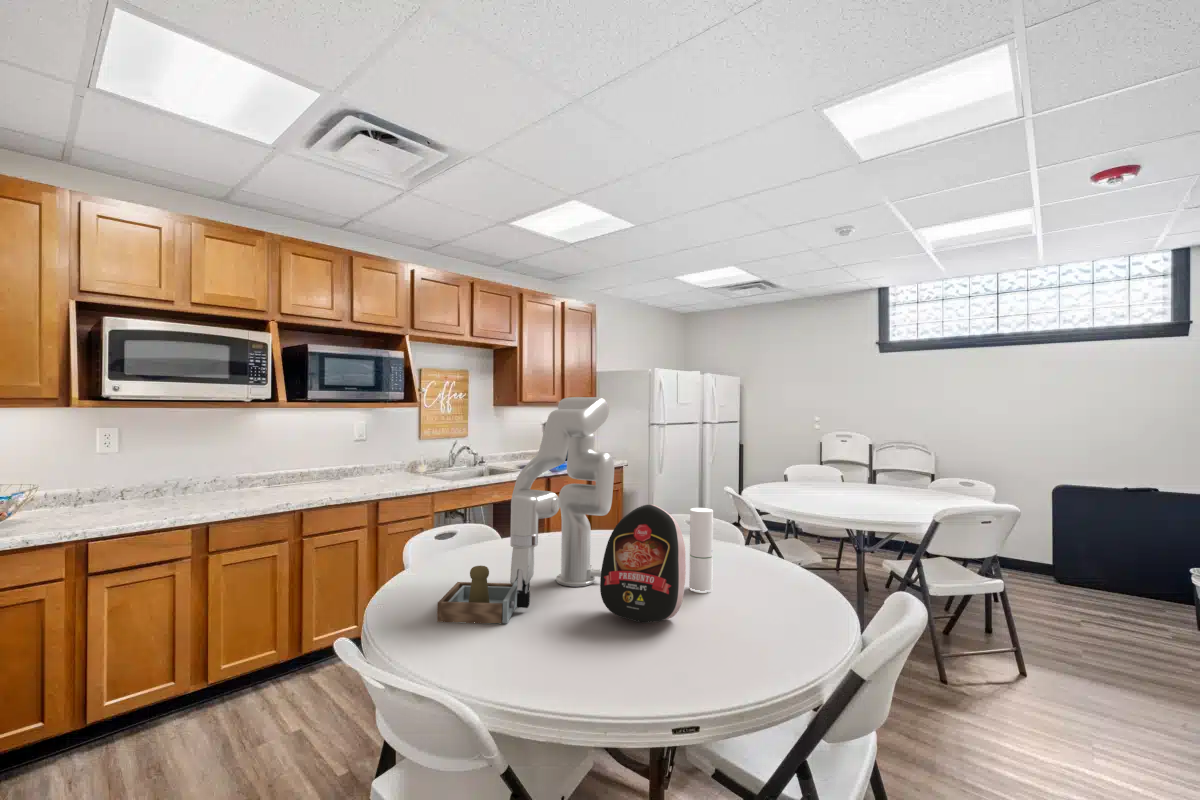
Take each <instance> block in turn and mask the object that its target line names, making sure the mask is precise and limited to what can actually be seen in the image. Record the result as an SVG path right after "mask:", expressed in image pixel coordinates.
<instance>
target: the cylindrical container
mask: <svg viewBox="0 0 1200 800" xmlns="http://www.w3.org/2000/svg"><path fill="white" fill-rule="evenodd" d="M713 555H714V510H713V509H711V508H707V507H706V508H705V507H693V508H692V507H691V508H690V509H689V574H688V575H689V577H688V578H689V587H690V588H692V589H695V590H700V591H705V590H710V589H712V590H713V586H714V585H713V580H714V579H713V571H714V570H713V569H714V567H713V566H714V565H713V564H714V561H713V559H714V556H713ZM689 587H688V588H689Z"/></svg>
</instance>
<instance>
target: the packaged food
mask: <svg viewBox="0 0 1200 800" xmlns="http://www.w3.org/2000/svg"><path fill="white" fill-rule="evenodd" d="M686 566H687V565H686V543H685V540H684V536H683V532H682V530H681V528H680V525H679V523H678V522H677V520H676V519H675V518H674V517H673V516H672V515H671V514H670V513H669V512H668V511H666V510H665V509H663V508H661V507H660V506H657V505H656V504H652V503H651V504H649V503H648V504H645V505H644V504H643V505H640V506H638V507H636V508H635V509H633V510H632V511H630V512H628V513H627V514H626V515H625V516H623V517H622V518H621V519H620V520H619V522H618V523H617V524H616V526H614V529H613V530H612V532H611V534H610V537H609V538H608V541H607V543H606V547H605V550H604V555H603V559H602V565H601V569H600V571H601V577H599V578H600V581H599V582H600V583H599V585H600V586H599V590H600V591H599V592H600V596H601V600H602V602H603V604H604V606H605V607H606V609H607V610H608V611H609V612H610V613H612V614H614V615H616V616H618V617H620V618H623V619H626V620H630V621H634V622H636V623H637V622H639V623H645V624H646V623H659V622H661V621H663V620H664V621H665V620H669V619H671V618H673V617H674V616H676V615H677V613H678V612H679V610H680V608H681V607H682V603H683V599H684V593H685V584H686V575H687V573H686V572H687V571H686Z"/></svg>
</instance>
